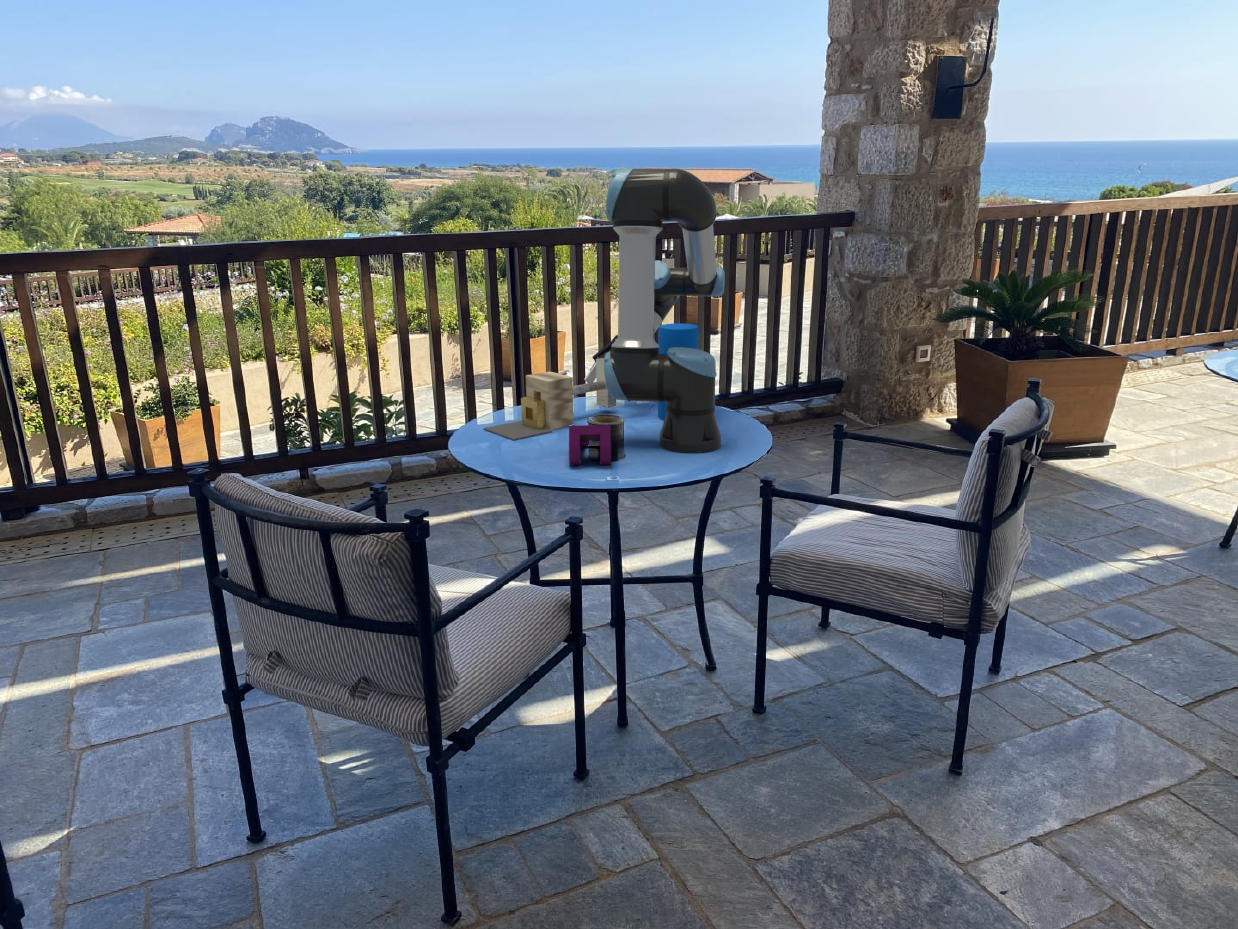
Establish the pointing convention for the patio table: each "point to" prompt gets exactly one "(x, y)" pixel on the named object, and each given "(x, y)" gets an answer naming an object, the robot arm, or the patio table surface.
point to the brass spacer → (533, 412)
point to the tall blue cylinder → (675, 338)
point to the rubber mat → (516, 430)
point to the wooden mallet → (597, 387)
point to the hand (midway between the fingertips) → (602, 386)
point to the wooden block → (553, 397)
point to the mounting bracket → (581, 438)
